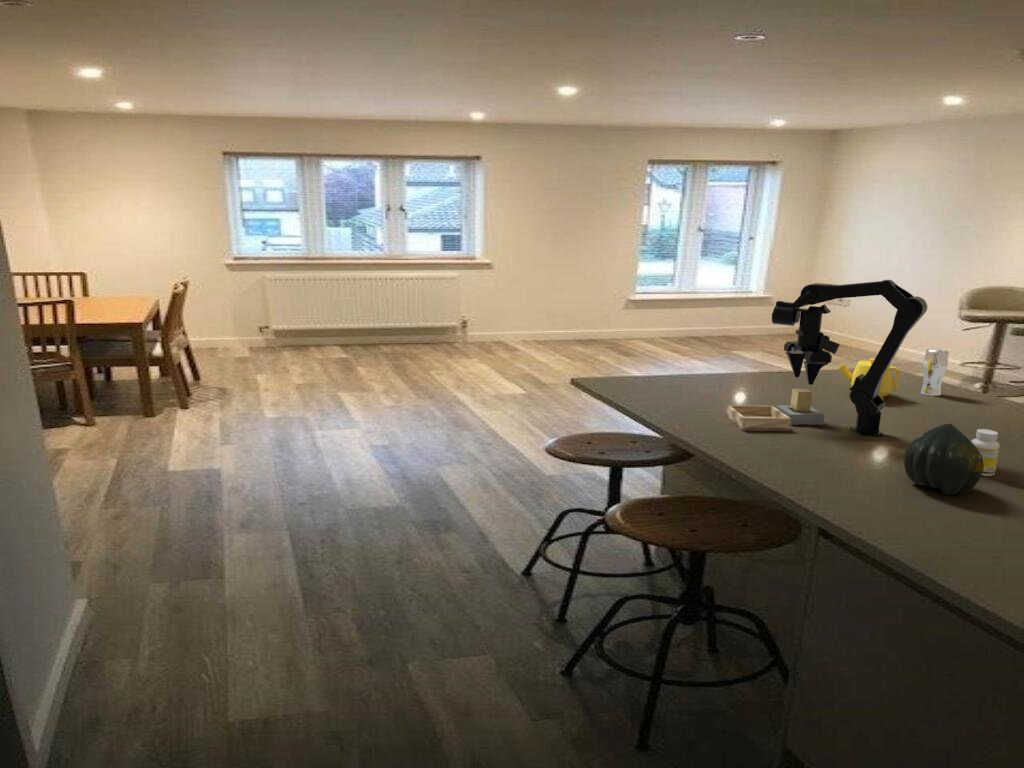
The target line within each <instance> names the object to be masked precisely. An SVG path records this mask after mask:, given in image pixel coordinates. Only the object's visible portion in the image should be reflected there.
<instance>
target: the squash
mask: <svg viewBox="0 0 1024 768" xmlns="http://www.w3.org/2000/svg"><path fill="white" fill-rule="evenodd" d="M971 441H972V440H970V439H969V438H968V437H967V436H966V435H965V434H964V433H963V432H962V431H961V430H960V429H959V428H958V427H956V426H955V425H954V424H953V423H950V422H949V423H945V424H941V425H938V426H936V427H934V428H931V429H929V430H926V431H924V432H923V433H921V434H920V435H918V436H917V437H915V438H914V439H913V441H911V443H910V444H909V445H908V447H907V448H906V450H905V452H904V456H903V463H904V464H903V465H904V471H905V473H906V475H907V477H908V479H909V480H910V481H911V482H913V483H914V484H916V485H918V486H921V485H922V486H923V487H924V486H925V487H932V488H937V489H938V488H939V489H940V491H941V492H942V493H943V494H945V495H955V494H957V493H958V494H959V493H967V492H968V491H970V490H972V489H973V488H975V487H976V485H977V484H978V482H979V481H980V480H981V478H982V477H983V476H982V473H983V469H984V465H983V458H982V456H981V454H980V452H979V451H978V449H977V448H976V446H975V445H974V444H973V443H972V442H971Z"/></svg>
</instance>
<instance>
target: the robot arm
mask: <svg viewBox="0 0 1024 768" xmlns="http://www.w3.org/2000/svg"><path fill="white" fill-rule="evenodd" d="M872 296H882V297H883V298H884V299H885V300H886V301H887V302H888V303H889V304H890V305H891V306H892V307H893V308H894V309H896V312H895V315H894V319H893V324H892V327H891V329H890V331H889V333H888V335H887V336H886V338H885V340H884V342H883V344H882V345H881V347H880V349H879V351H878V353H877V355H876V356H875V357H874V358H875V360H874V362H873V363H872V365H871V367H870V369H869V370H868V372H867V374H866V375H863V374H861V375H859V376H858V377H856V379H855V382H854V384H853V386H852V387H851V386H850V388H849V389H848V390H849V391H850V393H849V399H850V401H851V403H852V404H854V407H855V411H856V419H855V426H849V429H850V430H851V431H853V432H855V433H857V434H858V435H860V436H884V432H882V431H880V424H881V418H882V412H881V411H882V410H883V408H884V407H885V405H886V401H884V400H882V398H881V397H880V396H879V395H878V393H879V390H880V387H881V382H882V378H883V376H884V374H885V372H886V370H887V369H888V367H889V366H890V365H891V363H892V361H893V360H894V358H895V356H896V354H897V353H898V351H899V349H900V347H901V346H902V344H903V343H904V340H905V338H906V337H907V335H908V334H909V333H910V331H911V330H912V329H913V328H914V327H915V326H916V324H917V323H918V322H919V321H920V319H922V317H923V316H924V315H925V314H926V313H927V311H928V303H927V301H926V300H925V299H924V298H922V297H920V296H914V295H913V294H912V293H910V292H909V291H907V290H905V288H902V287H901V286H899V285H898V284H897V283H895V281H894V280H891V279H883V280H880V281H879V280H877V281H869V282H868V281H867V282H856V283H847V284H833V283H823V282H821V283H819V282H816V283H810V284H806V285H804V286H803V288H802V289H801V290H800V295H799V296H798V297H797V298H796V299H795V301H794V302H791V301H789V302H787V301H783V300H777V301H776V302H775V306H774V308H773V311H772V313H771V322H772V324H774V325H781V326H792V327H794V326H795V324H798V323H799V324H798V325H799V326H798V329H795V334H797V341H793V340H792V341H790V340H788V341H786V342H785V343H784V345H783V351H785V355H786V357H787V359H788V361H789V364H790V367H791V370H792V372H793V375H794V377H795V378H800V375H801V372H802V367H803V366H804V370H805V375H806V379H807V380H806V381H807V383H808V385H811V386H812V385H813V384H814V382H815V381H816V378H817V376H818V375H819V372H820V370H821V369H822V368H824V366H827V365H829V364H831V363H832V359H833V355H836V353H837V351H838V349H839V347H840V343H838V342H835V341H833V340H830V338H831V337H830V336H828V335H826V334H824V333H823V332H822V331H821V326H822V320H823V314H824V315H827V314H830V313H831V309H829V308H828V306H827V305H826V304H822V303H824V302H825V303H826V302H829V301H833V300H837V299H847V298H848V299H849V298H862V297H872ZM816 304H822V305H821V306H816ZM814 305H815V306H814ZM806 306H808V308H802V307H806ZM831 354H833V355H831Z"/></svg>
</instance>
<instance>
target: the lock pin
mask: <svg viewBox="0 0 1024 768" xmlns="http://www.w3.org/2000/svg"><path fill="white" fill-rule="evenodd" d="M812 394H813V392H812V391H811V390H809V389H807V388H792V389H791V397H790V405H791V406H790V410H792V411H793V412H801V413H809V412H810V406H811V403H812Z"/></svg>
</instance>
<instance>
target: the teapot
mask: <svg viewBox="0 0 1024 768" xmlns="http://www.w3.org/2000/svg"><path fill="white" fill-rule="evenodd" d="M875 358H876V357H872V358H869V360H862V359H861V360H859V361H858V362H857V364H856V366H855V368H854V370H853V373H852V372H851V370H850V369H849V368H848V367H847V366H846V365H845V364H844V363H843V364H841V365H840V366H839V365H838V367H837V370H838V371H839V372H841V374H842V375H843V376H844V377H845V378H846V379H847V380H848V381H849V382H850V388H851V387H852V386H853V384H854V382H855V379H856V377H858V376H859V375H861V374H863V375H866V374H867V372H868V370H869V369H870V367H871V365H872V363H873V362H874V360H875ZM892 370H893V371H896V376H895V377H894V379H893V376H892ZM900 376H901V371H900V369H899V368H897V367H895V366H890V365H889V367H888V369H887V370H886V372H885V374H884V376H883V378H882V382H881V387H880V390H879V393H878V395H879V396H880V397H881V398H882V400H883V401H884V400H885V398H884V397H887V396H888V395H889V394H890V392H891V391H896V390H898V388H899V385H898V383H897V381H898V380H899V378H900ZM894 386H895V387H894Z"/></svg>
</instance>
